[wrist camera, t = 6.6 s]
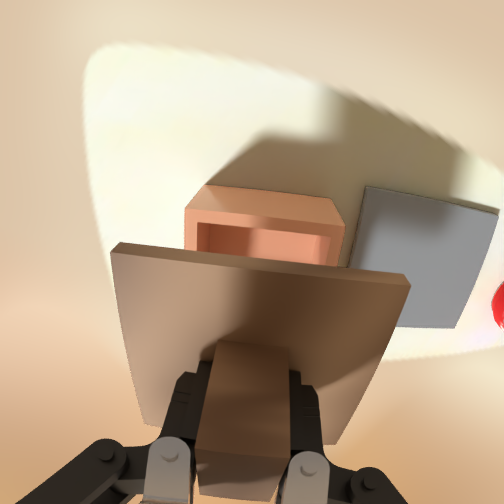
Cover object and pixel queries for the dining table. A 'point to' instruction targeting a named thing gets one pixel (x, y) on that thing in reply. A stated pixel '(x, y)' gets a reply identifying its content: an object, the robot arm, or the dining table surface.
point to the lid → (251, 349)
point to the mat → (424, 251)
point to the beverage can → (499, 306)
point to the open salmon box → (264, 225)
